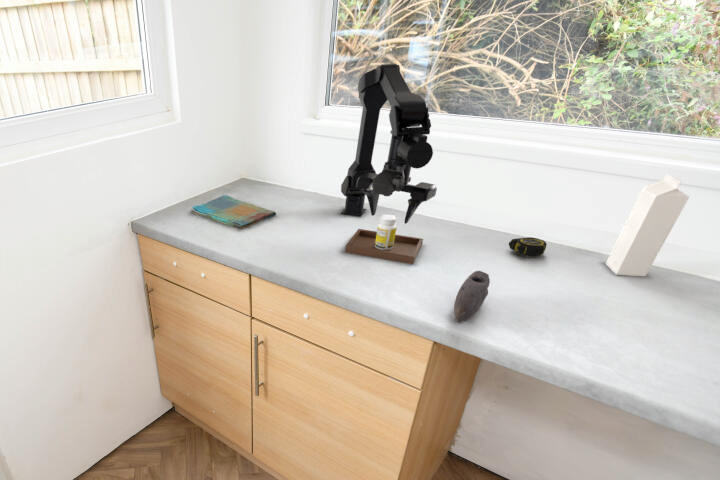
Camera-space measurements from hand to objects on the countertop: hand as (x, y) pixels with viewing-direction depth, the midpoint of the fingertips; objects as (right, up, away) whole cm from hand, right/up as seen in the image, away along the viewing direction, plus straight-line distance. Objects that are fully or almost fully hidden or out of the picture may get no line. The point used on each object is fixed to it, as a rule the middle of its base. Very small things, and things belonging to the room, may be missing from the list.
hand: (389, 219), depth 123 cm
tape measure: (+35, -9, -1) cm, 36 cm away
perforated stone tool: (+8, -26, -22) cm, 35 cm away
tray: (0, -7, +5) cm, 9 cm away
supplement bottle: (0, -7, +5) cm, 8 cm away
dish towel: (-39, +9, +31) cm, 51 cm away
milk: (+53, -15, -10) cm, 56 cm away
